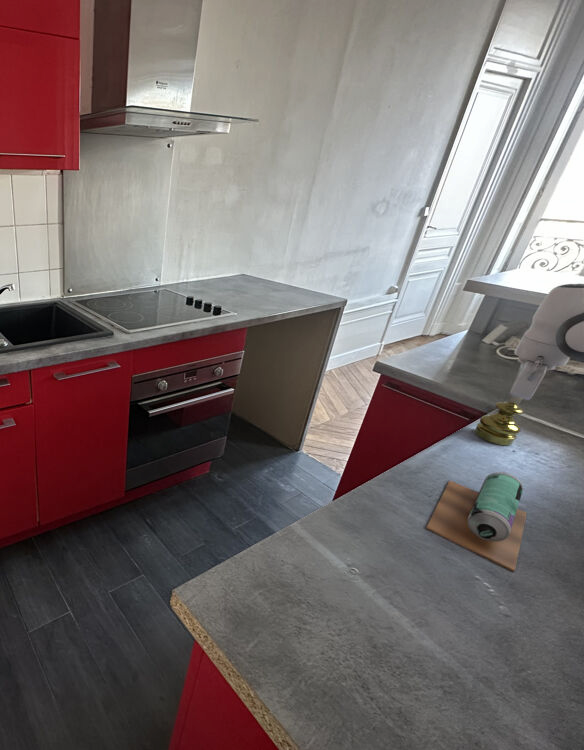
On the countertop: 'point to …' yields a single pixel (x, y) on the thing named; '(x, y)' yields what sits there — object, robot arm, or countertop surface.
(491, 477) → the spray can
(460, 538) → the wooden board
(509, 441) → the gold stacked rounded piece
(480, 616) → the countertop surface
